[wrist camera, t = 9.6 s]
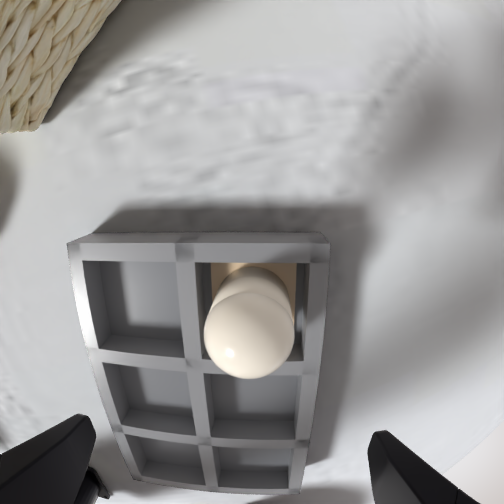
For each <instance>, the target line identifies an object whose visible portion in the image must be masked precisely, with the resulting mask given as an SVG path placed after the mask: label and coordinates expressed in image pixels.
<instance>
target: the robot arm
mask: <svg viewBox="0 0 504 504" xmlns="http://www.w3.org/2000/svg"><path fill="white" fill-rule="evenodd" d="M95 440H96V432H95V430H94V427H93V425H92V422H91V420H90V418H89V417H88V416H86V415H82V414H76V415H74V416H72V417H70V418H68V419H67V420H65V421H63V422H61V423H59V424H58V425H56V426H54V427H52V428H50V429H48V430H46V431H45V432H43V433H41V434H39V435H37V436H35V437H33V438H31V439H29V440H28V441H26V442H24V443H22V444H20V445H18V446H16V447H14V448H12V449H10V450H8V451H6V452H4V453H2V455H1V454H0V504H95V502H96V500H97V498H98V496H99V497H102V498H105V499H109V498H110V495H109V494H108V492H107V490H106V489H105V487H104V485H103V484H102V482H101V480H100V478H99V477H98V475H97V473H96V471H95V470H93V469H92V468H89V467H88V464H89V460H90V457H91V453H92V450H93V446H94V443H95ZM368 461H369V468H370V476H371V484H372V491H373V496H374V501H375V504H480V503H478V502H477V501H475V500H474V499H472V498H471V497H470V496H468V495H467V494H466V493H464V492H463V491H462V490H460V489H458V487H456V486H455V485H454V484H453V483H451V482H450V481H449V480H447V479H446V478H445V477H444V476H442V475H441V474H440V473H439V472H437V471H436V470H435V469H434V468H432V467H431V466H430V465H429V464H427V463H426V462H425V461H424V460H422V459H421V458H420V457H419V456H417V455H416V454H415V453H414V452H413V451H411V450H410V449H409V448H408V447H407V446H405V445H404V444H403V443H402V442H400V441H399V440H398V439H397V438H396V437H395V436H393V435H392V434H391V433H390V432H388V431H387V430H383V431H376V432H374V433H373V435H372V438H371V441H370V444H369V447H368Z"/></svg>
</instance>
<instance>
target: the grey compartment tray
mask: <svg viewBox="0 0 504 504" xmlns="http://www.w3.org/2000/svg"><path fill="white" fill-rule="evenodd" d="M330 247H331V244H330V242H329V241H328V240H327V239H326V238H325V237H324V236H323V234H322V233H318V232H144V233H91V234H88V235H86V236H84V237H81V238H79V239H76V240H74V241H71V242H69V243H67V250H68V258H69V265H70V271H71V278H72V284H73V289H74V295H75V300H76V305H77V310H78V315H79V320H80V324H81V328H82V333H83V337H84V341H85V345H86V349H87V353H88V357H89V360H90V364H91V367H92V371H93V374H94V378H95V381H96V384H97V387H98V391H99V394H100V397H101V400H102V403H103V406H104V409H105V411H106V414H107V417H108V420H109V423H110V425H111V428H112V431H113V433H114V436H115V438H116V441H117V443H118V446H119V448H120V451H121V453H122V455H123V458H124V460H125V462H126V465H127V467H128V469H129V471H130V473H131V476H132V478H133V479H134V480H139V481H143V482H148V483H154V484H159V485H165V486H171V487H177V488H184V489H191V490H199V491H209V492H220V493H234V494H260V495H283V494H300V489H301V484H302V479H303V474H304V469H305V464H306V458H307V453H308V447H309V441H310V435H311V429H312V423H313V416H314V410H315V403H316V396H317V388H318V381H319V373H320V365H321V356H322V347H323V338H324V328H325V317H326V306H327V293H328V280H329V265H330ZM244 267H261V268H264V269H267V270H269V271H272V272H273V273H275V274H276V275H277V276H278V277H279V278H280V279H281V280H282V281H283V282H284V284H285V286H286V288H287V290H288V294H289V300H290V306H291V312H292V318H293V324H294V336H295V338H294V344H293V347H292V351H291V353H290V355H289V357H288V358H287V360H286V361H285V362H284V364H283V365H282V366H281V367H279V368H278V369H277V370H276V371H274V372H273V373H271V374H269V375H267V376H264V377H261V378H256V379H242V378H237V377H234V376H232V375H229V374H227V373H226V372H224V371H223V370H221V369H220V368H219V367H218V366H217V365H216V364H215V363H214V362H213V361H212V359H211V358H210V356H209V354H208V352H207V350H206V346H205V343H204V326H205V322H206V319H207V316H208V314H209V311H210V309H211V306H212V304H213V301H214V299H215V296H216V294H217V291H218V289H219V287H220V285H221V283H222V281H223V280H224V279H225V278H226V277H227V276H228V275H229V274H230V273H232V272H233V271H235V270H238V269H240V268H244Z"/></svg>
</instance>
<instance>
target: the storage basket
mask: <svg viewBox="0 0 504 504" xmlns="http://www.w3.org/2000/svg"><path fill="white" fill-rule="evenodd" d="M120 2H121V0H0V134H3V133H6V132H8V133H14V132H17V131H19V132H22V131H29V132H32V131H35V130H37V129H38V128H39V126H40V124H41V123H42V121H43V119H44V117H45V115H46V113H47V111H48V109H49V108H50V107H51V105H52V103H53V100H54V98H55V97H56V95H57V93H58V91H59V89H60V87H61V85H62V83H63V82H64V80H65V79H66V77H67V76H68V74H69V73H70V72H71V70H72V68H73V66H74V64H75V63H76V61H77V59H78V57H79V56H80V53H81V52H82V51H83V50H84V49H85V48H86V46H87V45H88V44H89V43H90V42H91V41H92V40H93V38H94V37H95V36H96V34H97V33H98V31H99V30H100V28H101V27H102V25H103V23H104V22H105V20H106V18H107V16H108V15H109V14H110V13H111V12H112V11H113V10H114V9H115V8H116V7H117V5H118V4H119V3H120Z"/></svg>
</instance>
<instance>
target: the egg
mask: <svg viewBox="0 0 504 504" xmlns="http://www.w3.org/2000/svg"><path fill="white" fill-rule="evenodd" d="M294 338H295V336H294V324H293V318H292V312H291V306H290V300H289V294H288V290H287V288H286V286H285V284H284V282H283V281H282V280H281V279H280V278H279V277H278V276H277V275H276V274H275V273H273V272H272V271H269V270H267V269H264V268H261V267H244V268H240V269H238V270H235V271H233V272H232V273H230V274H229V275H228V276H227V277H226V278H225V279H224V280H223V281H222V283H221V285H220V287H219V289H218V291H217V294H216V296H215V299H214V301H213V304H212V306H211V309H210V311H209V314H208V316H207V319H206V322H205V326H204V343H205V346H206V350H207V352H208V354H209V356H210V358H211V359H212V361H213V362H214V363H215V364H216V365H217V366H218V367H219V368H220V369H221V370H223V371H224V372H226V373H227V374H229V375H232V376H234V377H237V378H242V379H256V378H261V377H264V376H267V375H269V374H271V373H273V372H274V371H276V370H277V369H278V368H279V367H281V366H282V365H283V364H284V362H285V361H286V360H287V358H288V357H289V355H290V353H291V351H292V347H293V344H294Z"/></svg>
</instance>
